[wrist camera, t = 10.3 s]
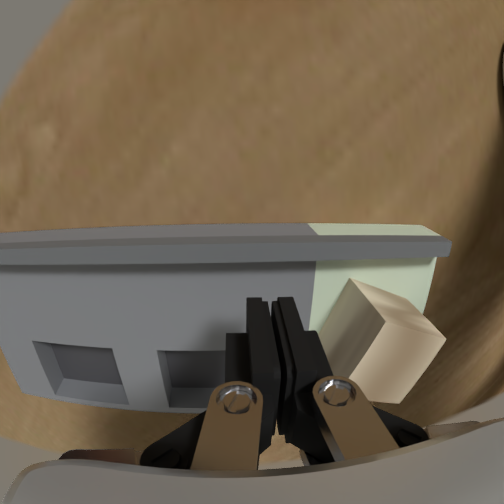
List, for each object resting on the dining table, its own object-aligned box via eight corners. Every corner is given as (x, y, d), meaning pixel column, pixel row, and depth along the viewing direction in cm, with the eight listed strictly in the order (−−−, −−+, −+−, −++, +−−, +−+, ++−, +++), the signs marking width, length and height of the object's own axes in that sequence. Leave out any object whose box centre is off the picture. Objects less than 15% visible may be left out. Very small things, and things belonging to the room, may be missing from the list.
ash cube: (406, 298, 15) (446, 339, 12) (370, 356, 17) (399, 403, 13) (349, 277, 15) (386, 321, 11) (312, 343, 16) (334, 396, 12)
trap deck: (421, 225, 16) (452, 241, 13) (385, 374, 20) (401, 401, 17) (-13, 233, 14) (-42, 250, 11) (32, 375, 18) (17, 401, 15)
